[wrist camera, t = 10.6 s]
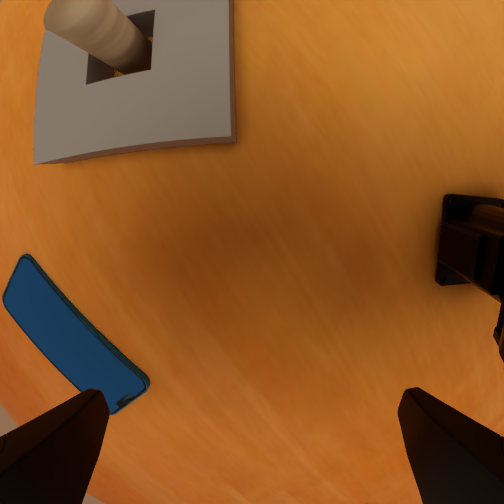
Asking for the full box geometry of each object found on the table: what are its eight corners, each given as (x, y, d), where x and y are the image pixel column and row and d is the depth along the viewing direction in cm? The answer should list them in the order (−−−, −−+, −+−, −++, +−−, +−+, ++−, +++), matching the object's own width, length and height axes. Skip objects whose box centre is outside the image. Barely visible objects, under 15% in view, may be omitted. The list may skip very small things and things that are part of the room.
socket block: (233, -19, 14) (228, -47, 10) (236, 142, 17) (230, 136, 14) (75, 16, 14) (52, 0, 11) (65, 163, 17) (34, 164, 14)
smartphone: (23, 249, 19) (152, 386, 21) (31, 246, 20) (156, 379, 22) (-1, 301, 20) (110, 417, 23) (6, 297, 21) (113, 411, 24)
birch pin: (161, 42, 15) (100, -28, 7) (160, 76, 16) (90, 19, 7) (125, 49, 15) (50, -6, 7) (123, 83, 16) (39, 40, 7)
